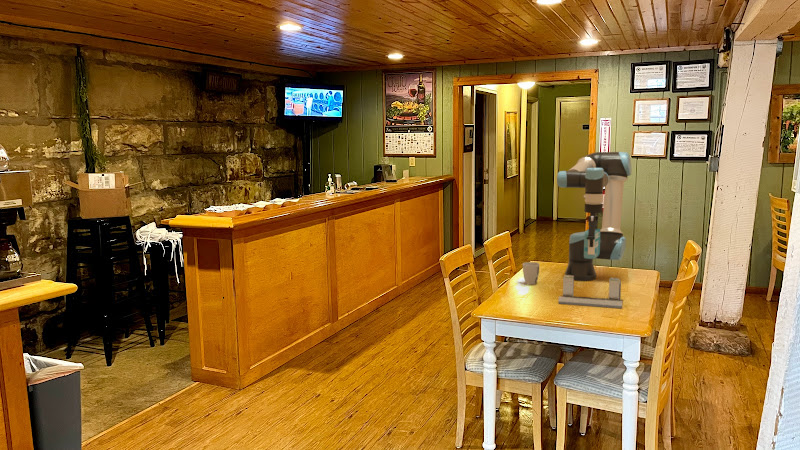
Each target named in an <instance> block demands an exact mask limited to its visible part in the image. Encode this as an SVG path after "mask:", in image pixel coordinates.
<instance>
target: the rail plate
mask: <svg viewBox="0 0 800 450" xmlns="http://www.w3.org/2000/svg"><path fill="white" fill-rule="evenodd" d="M562 280H563V281H562V295H560V296H558V304H559V305H568V306H569V305H570V306H583V307H584V306H586V307H595V308H596V307H598V308H614V309H623V299H620V300H619V281H620V278H618V277H609V280H608V298H601V297H587V296H574V292H575V291H574V290H575V287H574V283H575V280H574V276H571V275H565V274H564V276H562Z"/></svg>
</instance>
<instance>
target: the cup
mask: <svg viewBox="0 0 800 450" xmlns="http://www.w3.org/2000/svg"><path fill="white" fill-rule="evenodd" d="M522 274H523V278H524V279H523V280H524V282H525V284H526V285H527V284H528V285H529V286H535V285H537V283H538V280H539V275H540V263H539V262H534V261H528V262H527V261H526V262H523V263H522Z"/></svg>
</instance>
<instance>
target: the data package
mask: <svg viewBox="0 0 800 450" xmlns="http://www.w3.org/2000/svg"><path fill="white" fill-rule="evenodd" d="M600 230H601V228H597V229H595V254H594V255H591V254H588V239H587V237H588V232H589V228H588V229H587V230H585V231H584V232H585V233H584V258H588V259H593V260H596V257H598V256H599V254H600Z"/></svg>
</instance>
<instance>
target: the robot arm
mask: <svg viewBox="0 0 800 450" xmlns="http://www.w3.org/2000/svg"><path fill="white" fill-rule="evenodd" d="M631 175H632V161H631V157H630V153H628V152H626V151H607V152H606V151H602V152H601V151H598V152H597V151H596V152H592V153H589V154H587V155H584V156H582V157H581V158H579V159H578V160H577V162H576V163H575V165H574V166H572V167H571V168H570V169H568V170H561V171H560V170H559V171H558V173H557V175H556V184H557V186H558V187H559V188H565V189H566V188H568V189H569V188H571V189H572V188H573V189H574V188H577V189H579V188H580V189H582V188H583V189H584V195H583V198H584V202H585V203H584V212H585V213H588V214H589V216H588V217H587V220H588V229H589V232H588V237H587V239H588V254H591V255H594V254H595V229H598V224H599V223H598V222H599V216H598V214H601V213H602V223H601V228H600V254H599V256H598V257H596V258H595V260H596V259H598V260H609V261H620V260H621V259H622V258H623V256H624V253H625V250H626V244H627V238H626V237H625V236H624V232H623V231H621V222H622V221H621V220H622V211H623V210H622V209H623V200H624V199H623V198H624V196H623V195H624V186H625V185H624V184H625V182H627V181H628V177H630V176H631ZM584 233H585V231H580V232H574V233H572V234H570V235H569V242H568V245H569V246H568V264H567V267H566V270H565V273H564V275H571V276H574V281H577V282H578V281H579V282H580V281H581V282H584V281H585V282H587V281H593V280H596V279H597V272H596V269H595V266H594V259H588V258H584Z"/></svg>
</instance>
